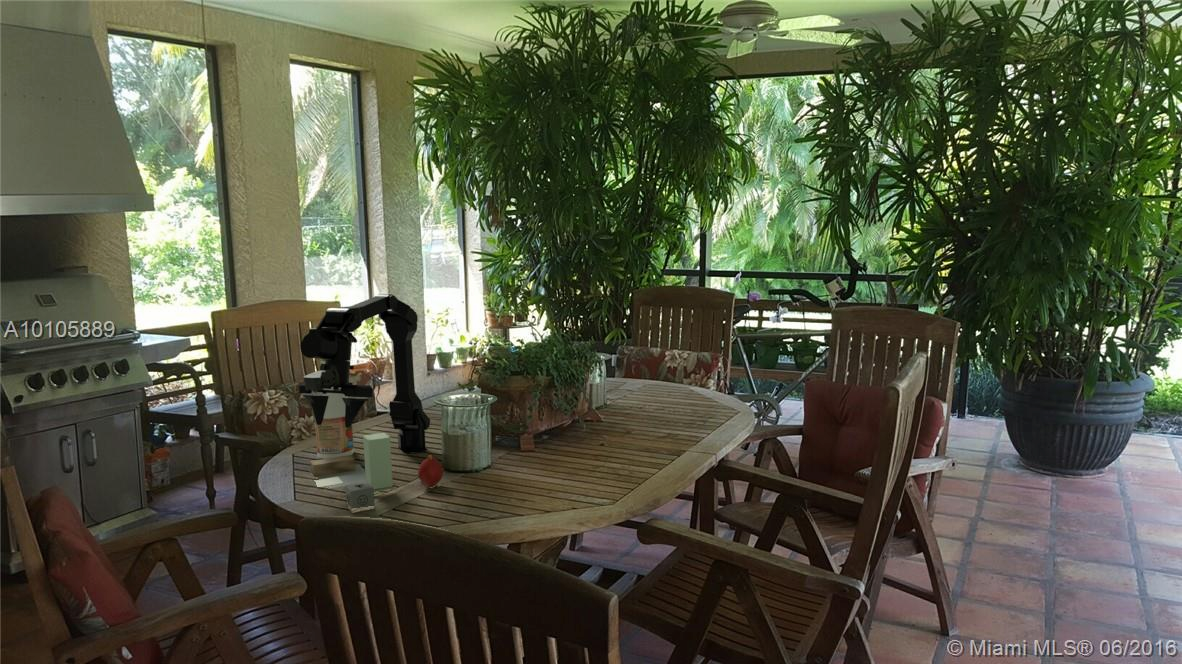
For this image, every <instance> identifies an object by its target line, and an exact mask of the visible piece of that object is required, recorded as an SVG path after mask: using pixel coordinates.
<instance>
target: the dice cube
mask: <svg viewBox="0 0 1182 664" xmlns="http://www.w3.org/2000/svg"><path fill="white" fill-rule="evenodd" d="M344 487H345V497H346V498H345V499H346V504H347V503H348V505H349V506H350V507H351V508H360V507H368V506H375V494H374V487H373V486H372V485H371V484H370V483H369V482H362V483H356V484H350V485H345V486H344ZM375 507H376V506H375Z"/></svg>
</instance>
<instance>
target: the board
mask: <svg viewBox="0 0 1182 664" xmlns="http://www.w3.org/2000/svg"><path fill="white" fill-rule="evenodd" d="M318 479H319V480H314V481H315V482H316V485H317V487H325V486H327V487H326V488H328V487H329V488H328V489H327V490H329V489H336V488H341V487H346V486H345V485H350V484H356V483H362V482H366V475H365V468H363V467H362V466H361V465H360V464H359V463H355V470H354V471H348V472H342V473H336V474H330V475H324V476H318Z"/></svg>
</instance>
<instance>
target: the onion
mask: <svg viewBox="0 0 1182 664" xmlns="http://www.w3.org/2000/svg"><path fill="white" fill-rule="evenodd" d="M417 475H418V479H419V480H420V482H422V484H424V485H425V486H427V487H428V488H430V487H433V486H434V487H435V486H437V484H439V483H440V481H441V480H442V478H443V476H444V469H443V466H442V464H441V463H440V462H439V461H438V460H437V459H436V458H434V457H433V455H431V454H429V455H428V456H427V458H426V459H424V460H423V461H422V462H421V464H420V465H419V468H418V470H417ZM434 487H433V488H434Z"/></svg>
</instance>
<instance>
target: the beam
mask: <svg viewBox="0 0 1182 664" xmlns="http://www.w3.org/2000/svg"><path fill="white" fill-rule="evenodd" d="M309 464H310V472H311V473H312V474H313V476H314V477H318V476H324V475H330V474H336V473H342V472H348V471H354V470H355V465H356V459H355V457H354V456H353V454H352V455H347V456H341V457H334V458H328V459H322V458H320V459H315V460H310V463H309Z"/></svg>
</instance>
